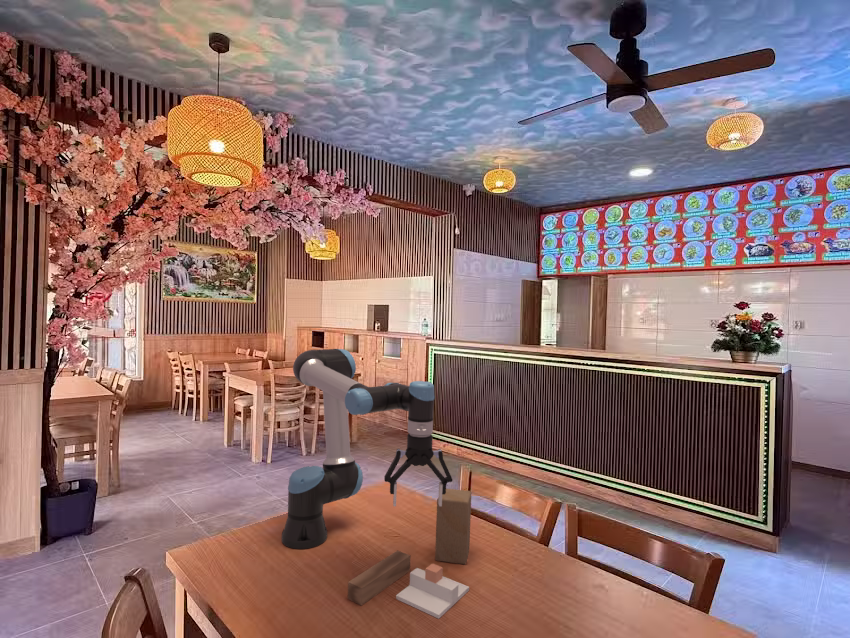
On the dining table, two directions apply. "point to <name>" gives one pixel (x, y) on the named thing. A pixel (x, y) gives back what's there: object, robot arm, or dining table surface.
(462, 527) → the wooden block
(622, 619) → the dining table surface
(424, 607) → the stand
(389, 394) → the robot arm
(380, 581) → the beam
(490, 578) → the dining table surface
